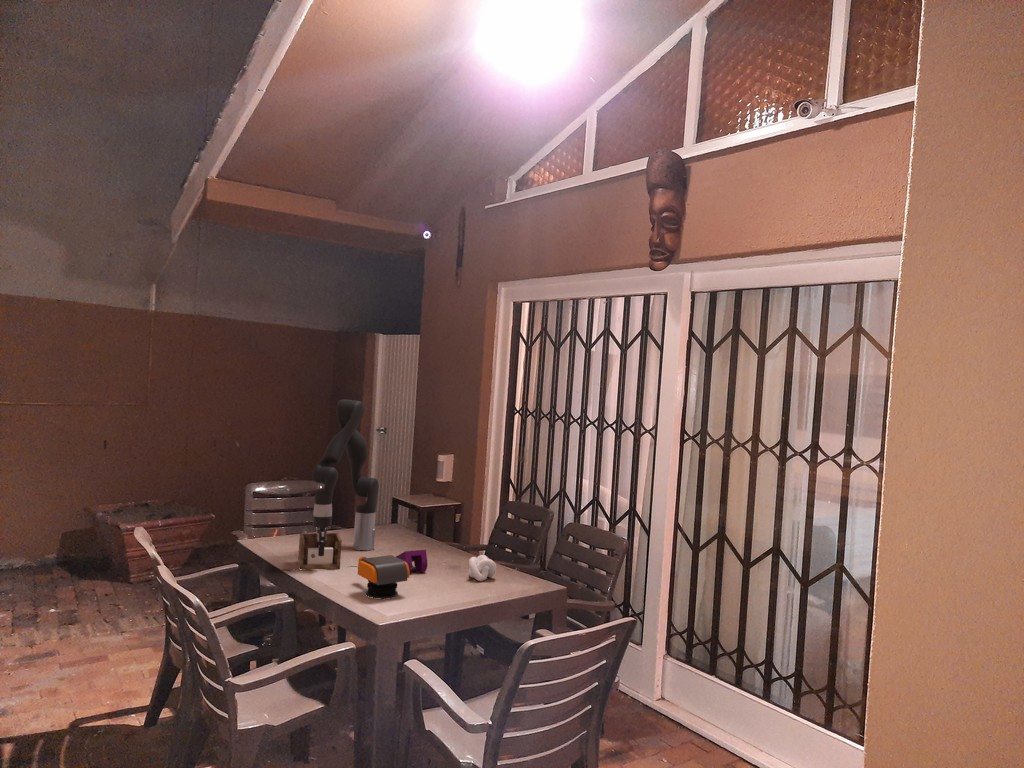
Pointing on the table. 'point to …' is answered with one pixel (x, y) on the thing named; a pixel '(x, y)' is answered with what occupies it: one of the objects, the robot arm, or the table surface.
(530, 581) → the table surface
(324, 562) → the door
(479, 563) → the white knot
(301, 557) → the cabinet
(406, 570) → the sander
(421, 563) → the mounting bracket
